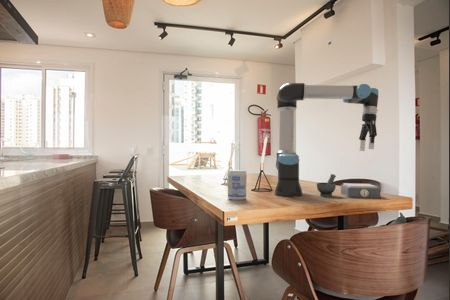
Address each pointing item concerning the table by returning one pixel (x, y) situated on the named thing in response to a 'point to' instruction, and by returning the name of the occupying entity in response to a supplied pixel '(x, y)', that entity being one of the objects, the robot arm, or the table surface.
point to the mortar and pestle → (327, 187)
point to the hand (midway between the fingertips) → (366, 149)
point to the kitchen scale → (360, 190)
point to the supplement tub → (237, 184)
